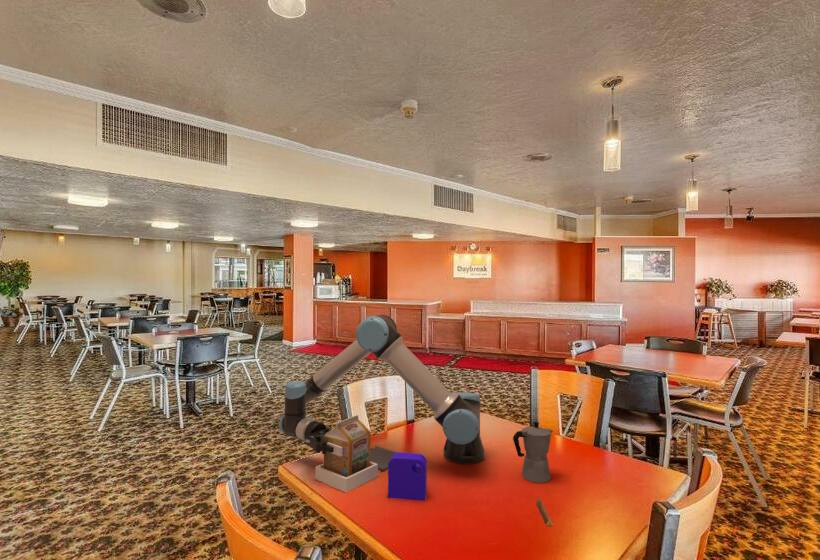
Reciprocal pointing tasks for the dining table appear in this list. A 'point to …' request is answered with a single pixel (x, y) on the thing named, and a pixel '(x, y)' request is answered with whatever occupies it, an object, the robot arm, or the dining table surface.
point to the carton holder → (346, 482)
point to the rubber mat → (381, 457)
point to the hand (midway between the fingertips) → (355, 446)
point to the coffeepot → (534, 452)
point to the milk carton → (348, 447)
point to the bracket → (407, 476)
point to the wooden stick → (543, 512)
